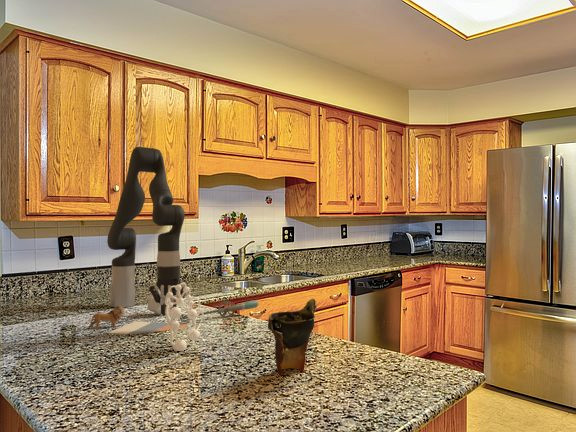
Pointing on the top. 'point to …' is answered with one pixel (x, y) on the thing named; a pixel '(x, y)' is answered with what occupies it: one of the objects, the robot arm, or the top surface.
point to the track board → (141, 327)
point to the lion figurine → (107, 317)
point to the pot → (292, 336)
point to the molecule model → (176, 313)
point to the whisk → (228, 308)
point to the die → (155, 304)
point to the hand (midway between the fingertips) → (168, 315)
